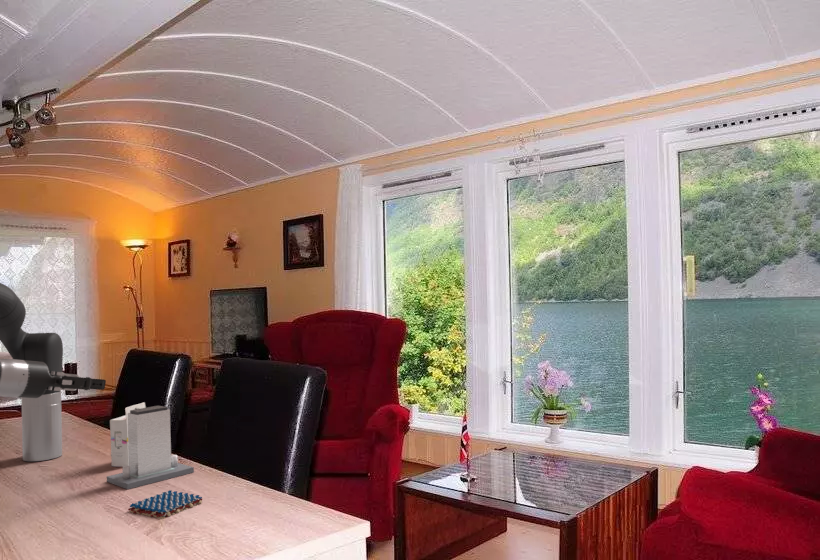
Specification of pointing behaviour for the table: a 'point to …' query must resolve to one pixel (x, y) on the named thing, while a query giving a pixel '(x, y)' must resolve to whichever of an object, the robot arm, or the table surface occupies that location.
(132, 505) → the woven mat
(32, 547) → the table surface
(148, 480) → the pin tray
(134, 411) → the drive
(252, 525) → the table surface
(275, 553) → the table surface
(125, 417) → the ink cartridge box
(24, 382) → the robot arm
